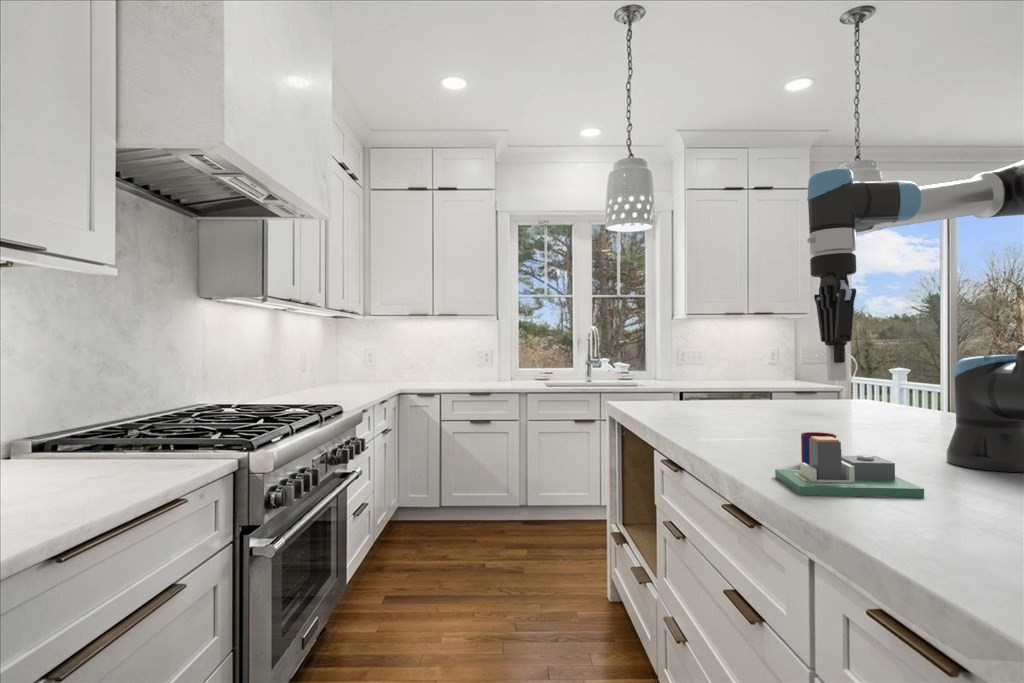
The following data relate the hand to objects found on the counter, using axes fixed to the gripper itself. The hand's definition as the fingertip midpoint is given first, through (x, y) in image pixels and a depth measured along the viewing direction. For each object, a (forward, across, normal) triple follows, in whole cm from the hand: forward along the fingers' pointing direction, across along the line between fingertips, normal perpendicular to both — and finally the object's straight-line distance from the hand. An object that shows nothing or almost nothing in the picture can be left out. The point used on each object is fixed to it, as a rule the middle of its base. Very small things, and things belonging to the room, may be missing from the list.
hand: (837, 380), depth 109 cm
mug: (+20, -16, +2) cm, 25 cm away
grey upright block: (+18, +1, -3) cm, 18 cm away
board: (+20, +2, 0) cm, 20 cm away
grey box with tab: (+18, -2, +5) cm, 19 cm away
